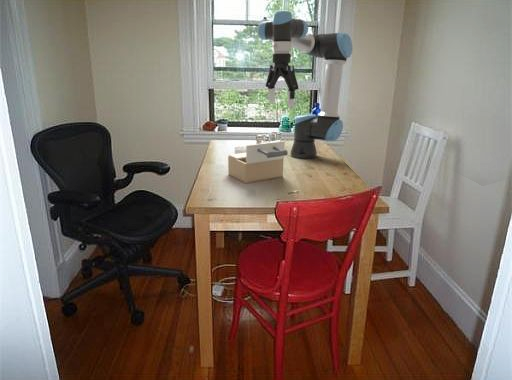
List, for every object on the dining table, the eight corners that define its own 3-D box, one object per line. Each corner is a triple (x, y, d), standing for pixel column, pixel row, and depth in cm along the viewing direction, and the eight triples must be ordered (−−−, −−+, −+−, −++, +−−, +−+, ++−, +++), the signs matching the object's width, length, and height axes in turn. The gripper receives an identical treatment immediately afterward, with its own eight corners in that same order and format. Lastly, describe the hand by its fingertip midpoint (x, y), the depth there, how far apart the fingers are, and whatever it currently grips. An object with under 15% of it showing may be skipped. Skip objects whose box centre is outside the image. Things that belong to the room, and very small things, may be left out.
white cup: (236, 170, 178) (236, 150, 175) (233, 165, 185) (232, 146, 182) (252, 168, 180) (252, 149, 177) (248, 165, 187) (248, 146, 184)
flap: (283, 140, 161) (297, 146, 153) (282, 158, 164) (296, 164, 156) (246, 145, 152) (259, 151, 144) (246, 163, 155) (258, 170, 147)
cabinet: (264, 168, 180) (264, 150, 177) (282, 177, 167) (283, 157, 164) (228, 174, 170) (228, 154, 167) (245, 183, 157) (245, 162, 154)
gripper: (257, 53, 157) (258, 103, 164) (293, 52, 137) (291, 109, 145) (271, 53, 161) (271, 102, 168) (308, 52, 141) (306, 107, 148)
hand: (281, 105), depth 156 cm, fingers open, 13 cm apart
